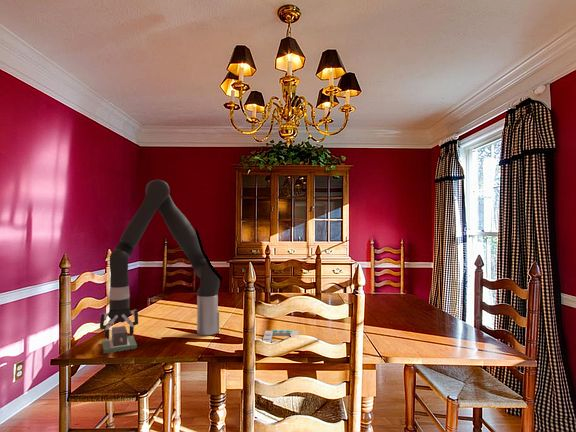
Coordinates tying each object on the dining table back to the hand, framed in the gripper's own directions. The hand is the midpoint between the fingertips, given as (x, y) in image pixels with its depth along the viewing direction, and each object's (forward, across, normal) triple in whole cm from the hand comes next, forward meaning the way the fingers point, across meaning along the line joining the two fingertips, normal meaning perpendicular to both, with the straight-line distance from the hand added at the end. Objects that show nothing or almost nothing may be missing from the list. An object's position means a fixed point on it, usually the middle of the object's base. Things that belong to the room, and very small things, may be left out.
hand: (119, 337), depth 154 cm
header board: (+4, 0, 0) cm, 4 cm away
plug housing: (+2, 0, +2) cm, 3 cm away
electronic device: (+5, -62, +24) cm, 67 cm away
